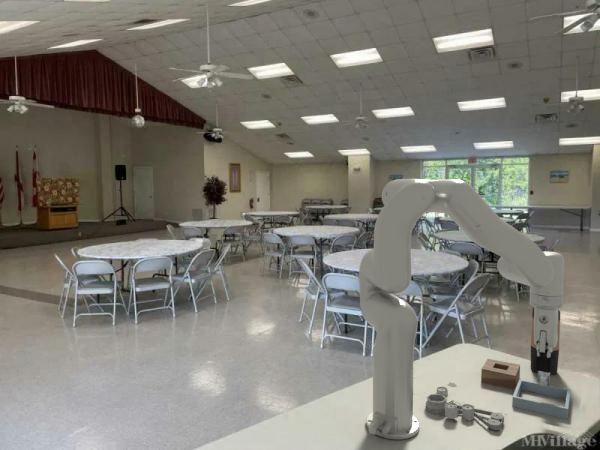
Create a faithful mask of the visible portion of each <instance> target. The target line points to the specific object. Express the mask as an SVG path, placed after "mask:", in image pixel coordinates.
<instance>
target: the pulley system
mask: <svg viewBox="0 0 600 450" xmlns="http://www.w3.org/2000/svg"><path fill="white" fill-rule="evenodd" d="M446 386H447V387H450V388H455V387H457V384H456V383H455V382H451V381H449V382H448V384H446ZM447 387H445V386H438V387H436V393H433V394H429V395H427V396H426V401H425V410H426V411H427V412H429V413H430V414H432V415H436V416H445V417H446V418H447V419H456V418H457V417H458V415H461V417H462V419H463V420H464V421H465V420H467V421H472V420H474V419H475V418H476V419H478V420H479V421H480V422H482V424H484V425H485V426H486V427H488V428H489V429H490V430H493V431H497V430H501V429H502V426H503V425H504V422H505V416H504V414H502V413H500V412H493V411H487V410H482V409H479V408H478V409H477V408H475V407H474V405H473V404H467V403H464V404H462V405H458V404H457V403H454V400H451V401H452V402H450V401H449V402H447V400H448V398H447V397H446V396H448V395H449V389H448V388H447ZM478 414H481V415H485V416H490V418H488V419H487V420H485V419H484V418H482V417H481V416H480V415H478Z"/></svg>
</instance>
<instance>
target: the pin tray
mask: <svg viewBox="0 0 600 450" xmlns="http://www.w3.org/2000/svg"><path fill="white" fill-rule="evenodd" d="M522 391H526V392H532V393H536V394H541V395H546V396H550V397H553V398H554V397H555V398H558V399H559V398H560V399H565V403H564V406H561V405H557V404H552V403H547V402H543V401H540V400H539V401H538V400H534V399H529V398H524V397H521V396H520V395H521V392H522ZM511 402H512V403H511V407H514V408H519V409H523V410H527V411H532V412H536V413H538V414H539V413H540V414H544V415H548V416H551V417H556V418H561V419H566V420H568V417H569V410H570V402H571V389H569V388H565V387H559V386H554V385H550V384H549V386H542V385H539V384H538V383H537V382H535V381H529V380H523V379H520V378H519V381H518V383H517V386H516V389H515V390H514V392H513V395H512V400H511Z"/></svg>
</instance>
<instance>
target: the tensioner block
mask: <svg viewBox="0 0 600 450" xmlns="http://www.w3.org/2000/svg"><path fill="white" fill-rule="evenodd" d="M480 371H481V374H480V382H481V383H483V384H487V385H492V386H495V387H501V388H506V389H511V390H514V391H515V389H516V387H517V384H518V382H519V379H520V376H521V365H520V364H518V363H512V362H507V361H502V360H497V359H492V358H487V359H486V360H485V362H484V364H483V365H482V367H481V370H480Z"/></svg>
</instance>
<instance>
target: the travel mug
mask: <svg viewBox="0 0 600 450" xmlns="http://www.w3.org/2000/svg"><path fill="white" fill-rule="evenodd" d="M531 313H532V314H531V332H530V334H531V335H530V371H532V372H534V373H535V374H537V375H538V371H537V370H536V356H537V345H538V344H537V345H535V344H534V307H533V308H532V312H531ZM560 329H561V310H560V309H558V341H557V345H556V347H555V348H553V347H552V364H551V368H550V377H551V376H556V375H557V374H558V368H559V367H558V365H559V354H560V333H561V332H560V331H561V330H560Z"/></svg>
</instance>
